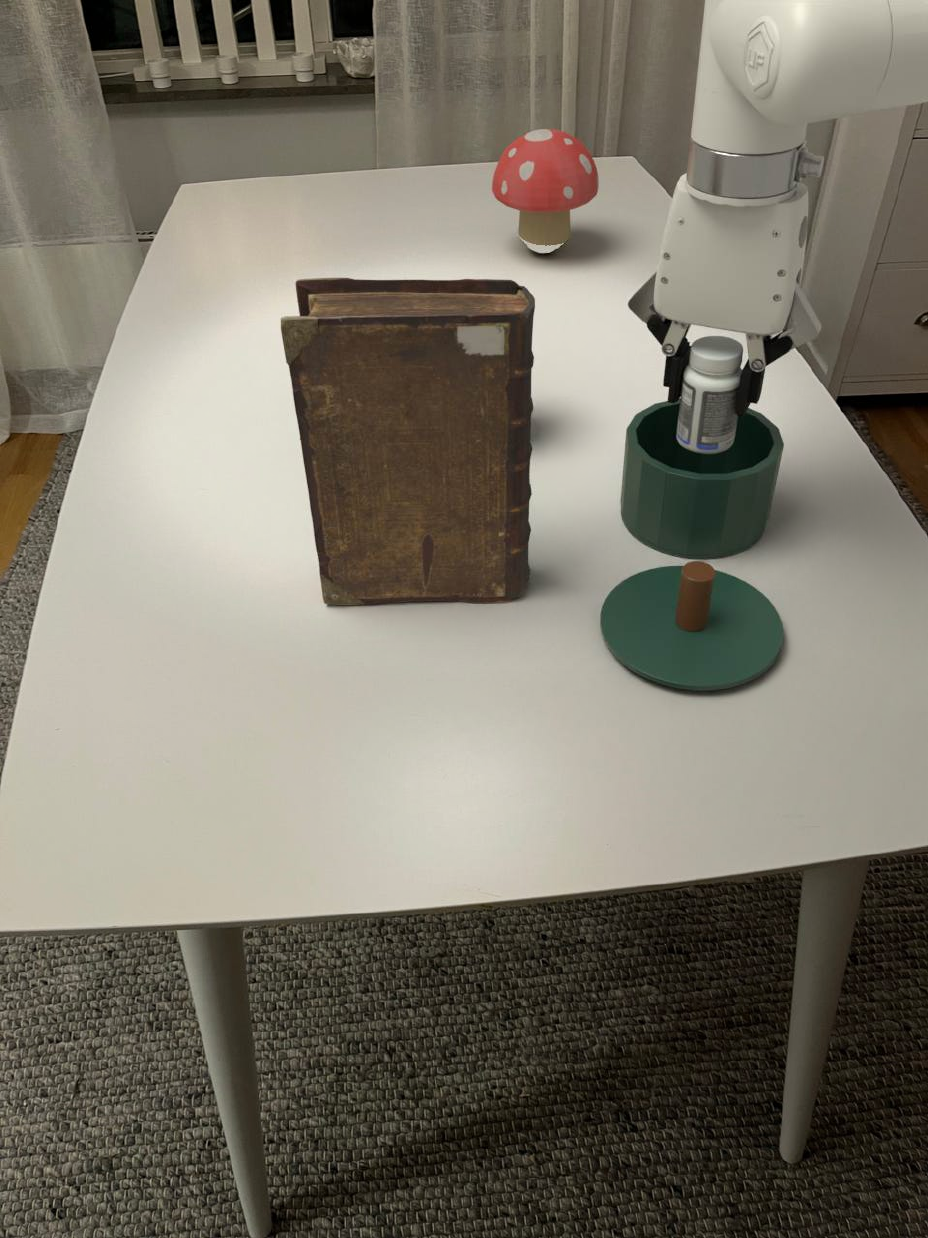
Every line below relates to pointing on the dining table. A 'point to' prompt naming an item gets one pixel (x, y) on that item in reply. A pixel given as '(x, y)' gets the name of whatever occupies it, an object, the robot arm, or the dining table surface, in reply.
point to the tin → (698, 485)
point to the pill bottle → (710, 395)
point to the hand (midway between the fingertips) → (710, 399)
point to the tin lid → (691, 627)
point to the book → (415, 435)
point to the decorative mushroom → (545, 183)
